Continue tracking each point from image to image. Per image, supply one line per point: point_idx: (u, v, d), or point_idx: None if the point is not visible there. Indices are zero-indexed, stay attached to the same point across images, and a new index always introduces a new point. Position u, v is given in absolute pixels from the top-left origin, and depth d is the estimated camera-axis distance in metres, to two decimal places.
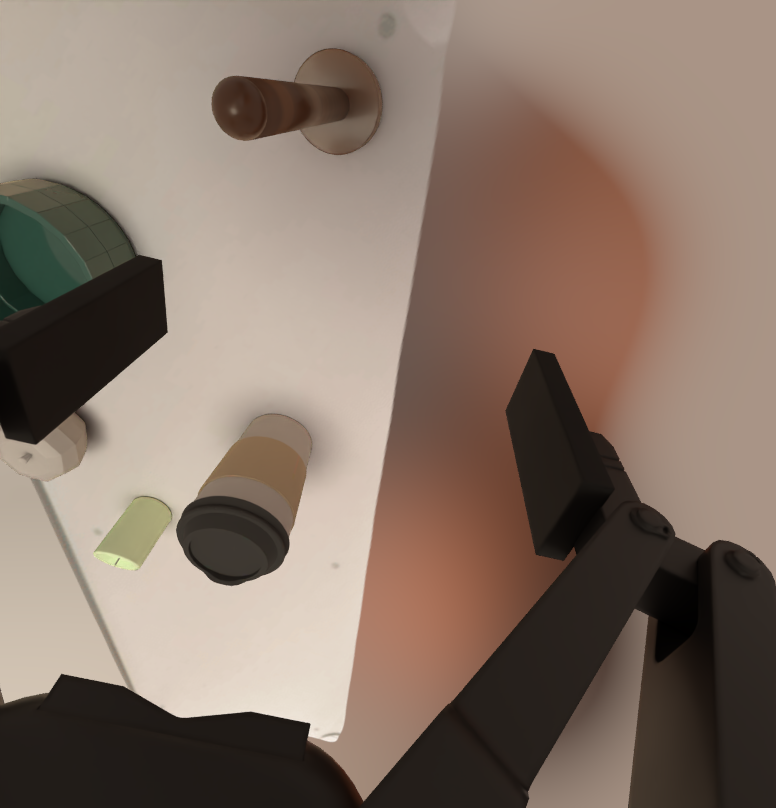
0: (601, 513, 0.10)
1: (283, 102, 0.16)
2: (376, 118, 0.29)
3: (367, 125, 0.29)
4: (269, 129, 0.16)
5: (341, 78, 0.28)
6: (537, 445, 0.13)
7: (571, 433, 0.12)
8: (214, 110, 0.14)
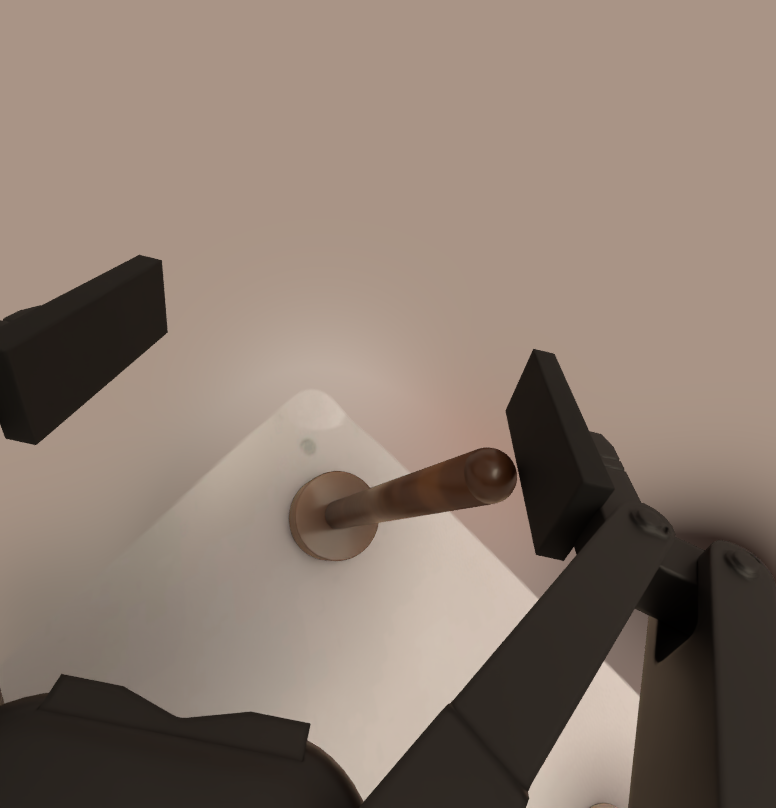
0: (600, 513, 0.10)
1: None
2: (368, 487, 0.30)
3: None
4: None
5: (326, 496, 0.29)
6: (537, 445, 0.13)
7: (571, 433, 0.12)
8: (492, 489, 0.14)
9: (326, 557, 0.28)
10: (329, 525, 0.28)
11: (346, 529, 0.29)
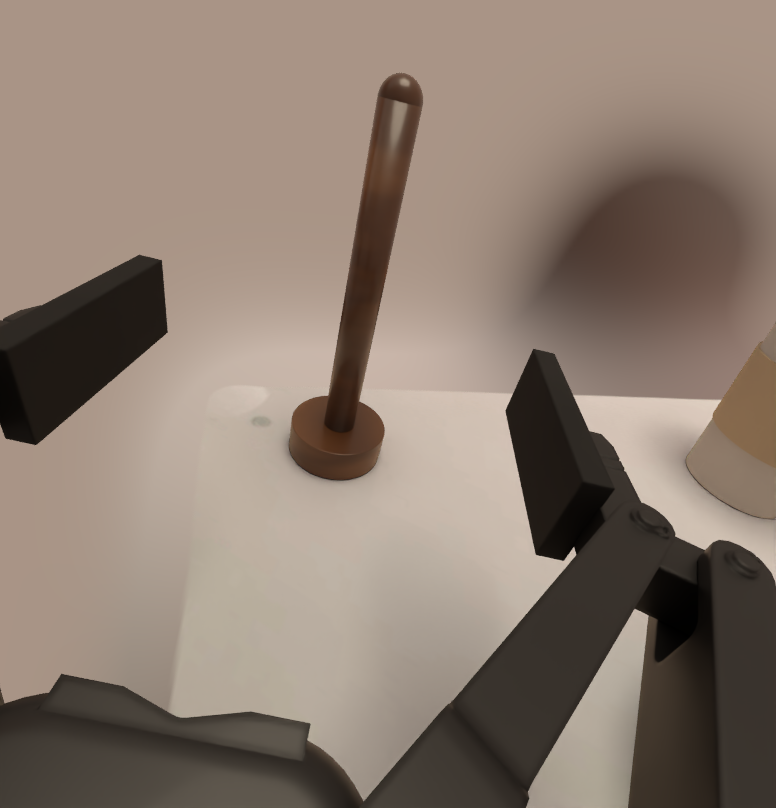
0: (600, 513, 0.10)
1: None
2: None
3: None
4: None
5: (315, 419, 0.27)
6: (537, 444, 0.13)
7: (571, 433, 0.12)
8: (410, 84, 0.17)
9: (365, 450, 0.25)
10: (341, 432, 0.26)
11: (356, 426, 0.27)
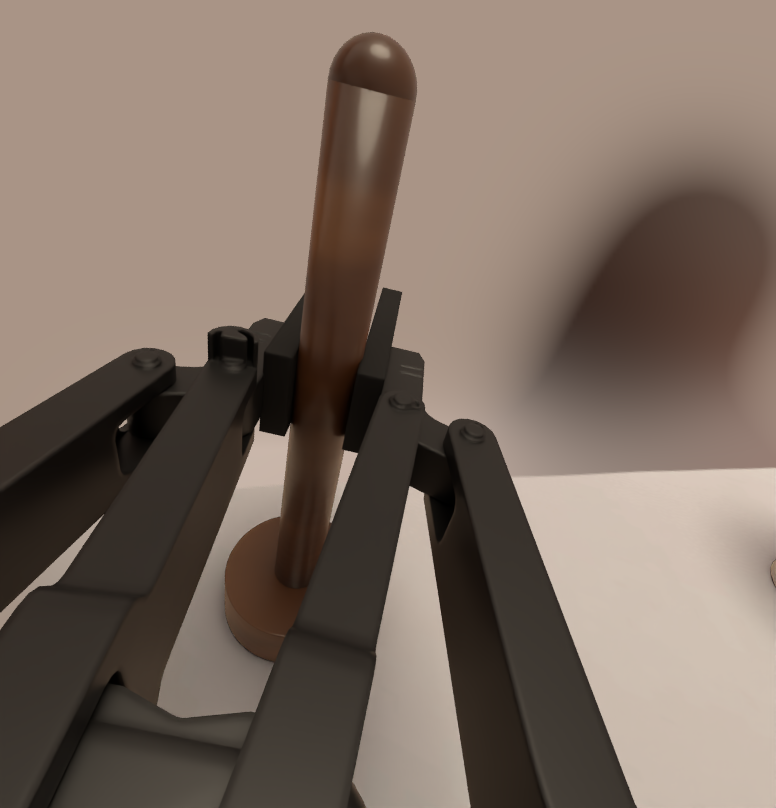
0: None
1: None
2: None
3: None
4: None
5: (262, 565, 0.18)
6: None
7: (372, 343, 0.13)
8: (391, 54, 0.08)
9: None
10: (298, 588, 0.18)
11: None
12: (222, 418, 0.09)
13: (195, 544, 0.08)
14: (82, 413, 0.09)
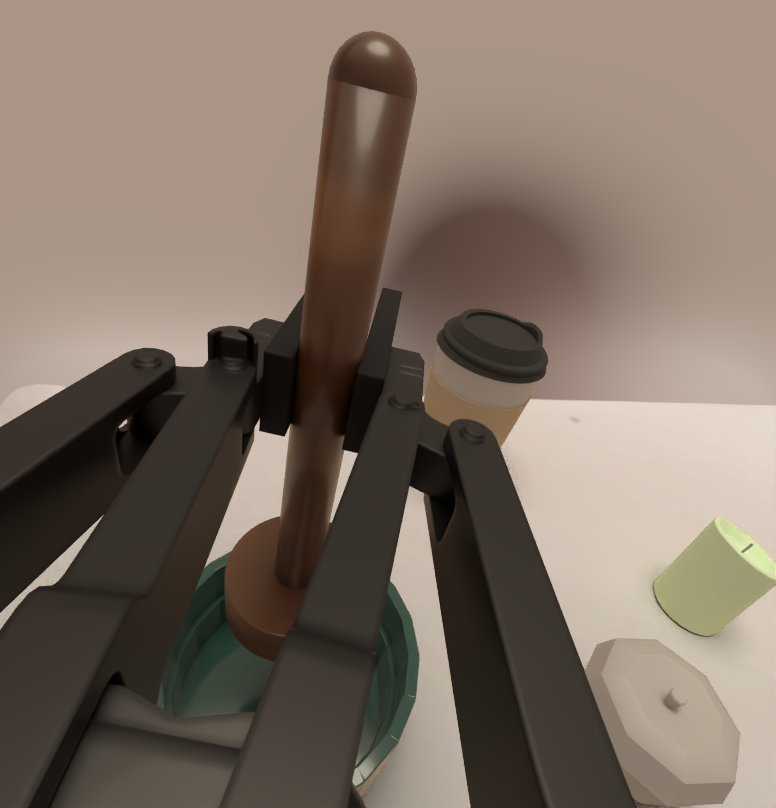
0: None
1: None
2: None
3: None
4: None
5: (262, 564, 0.18)
6: None
7: (372, 343, 0.13)
8: (391, 53, 0.08)
9: None
10: (298, 588, 0.18)
11: None
12: (222, 418, 0.09)
13: (195, 544, 0.08)
14: (82, 413, 0.09)
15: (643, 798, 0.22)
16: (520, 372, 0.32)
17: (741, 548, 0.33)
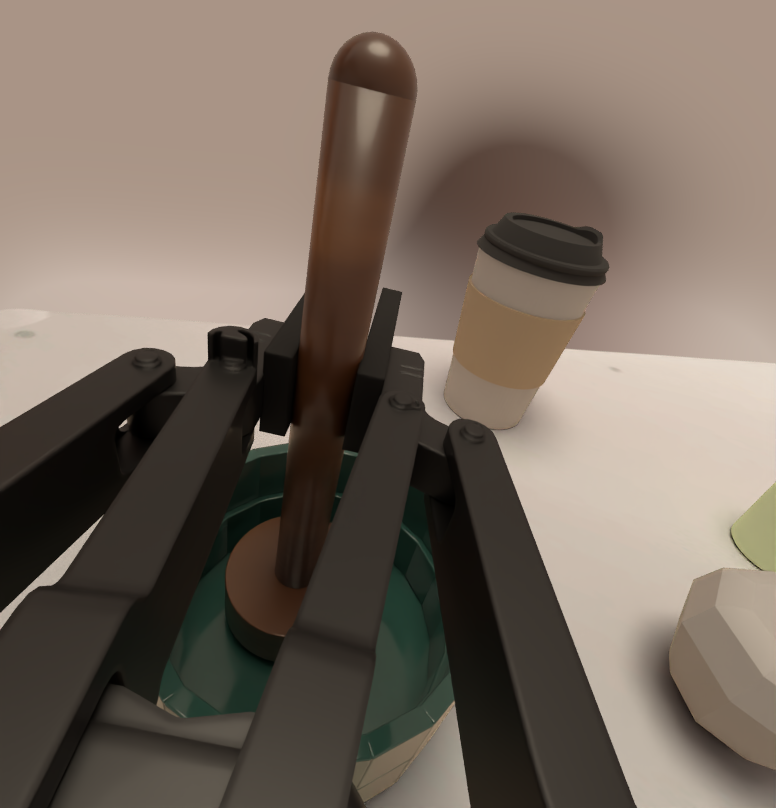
0: None
1: None
2: None
3: None
4: None
5: (262, 565, 0.18)
6: None
7: (372, 343, 0.13)
8: (391, 53, 0.08)
9: None
10: (298, 588, 0.18)
11: None
12: (222, 418, 0.09)
13: (195, 544, 0.08)
14: (82, 413, 0.09)
15: None
16: (581, 270, 0.27)
17: None
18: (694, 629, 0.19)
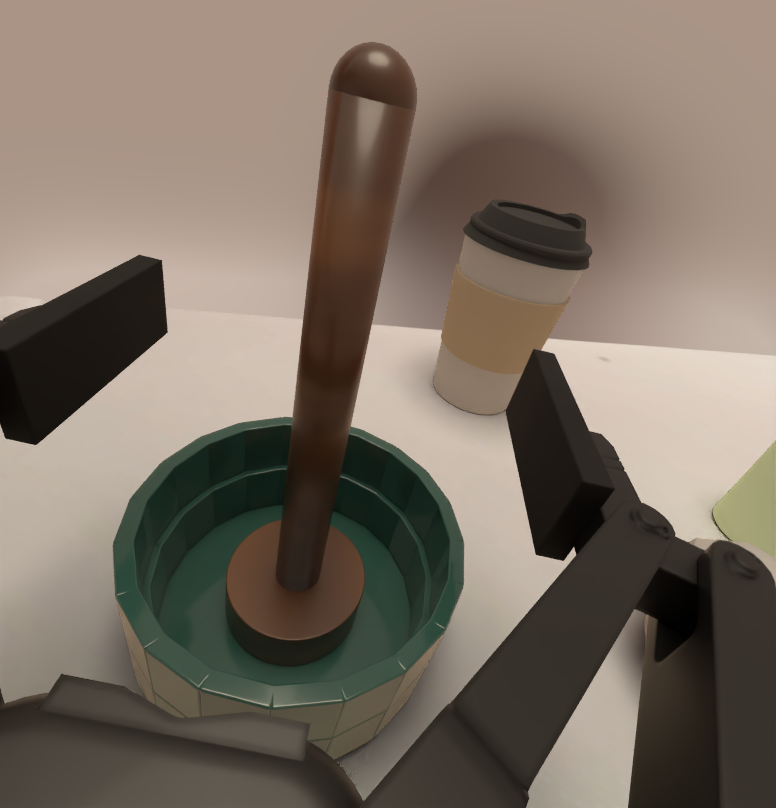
0: (601, 513, 0.10)
1: None
2: None
3: None
4: None
5: (262, 568, 0.18)
6: (537, 444, 0.13)
7: (571, 433, 0.12)
8: (391, 64, 0.08)
9: (334, 626, 0.17)
10: (299, 591, 0.18)
11: (323, 576, 0.18)
12: None
13: None
14: None
15: None
16: (564, 254, 0.28)
17: None
18: None
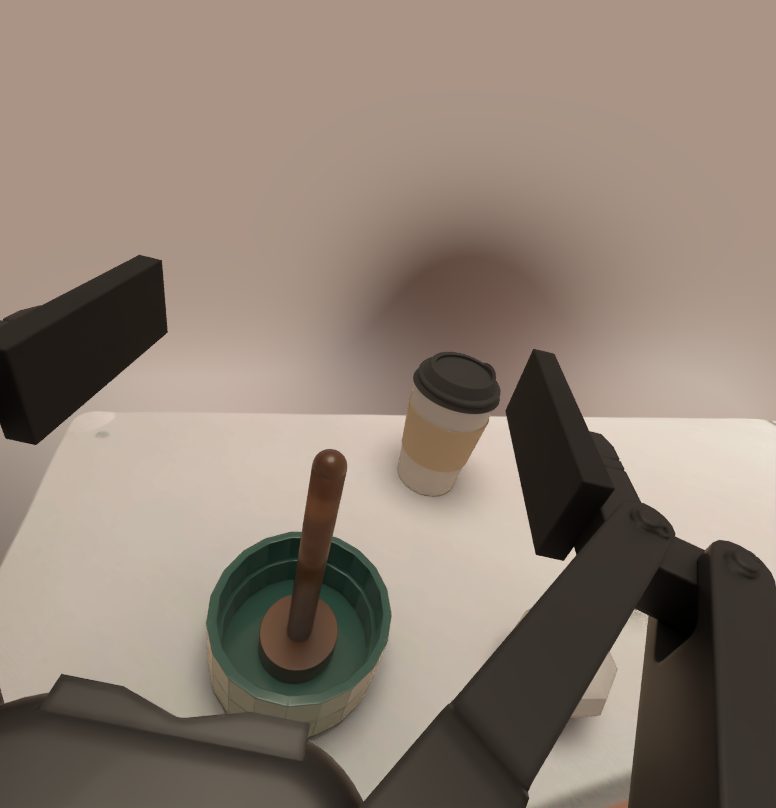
0: (600, 513, 0.10)
1: None
2: None
3: None
4: None
5: (279, 627, 0.32)
6: (537, 445, 0.13)
7: (571, 433, 0.12)
8: (335, 466, 0.22)
9: (319, 662, 0.31)
10: (300, 642, 0.32)
11: (313, 632, 0.32)
12: None
13: None
14: None
15: None
16: (475, 405, 0.42)
17: None
18: None
